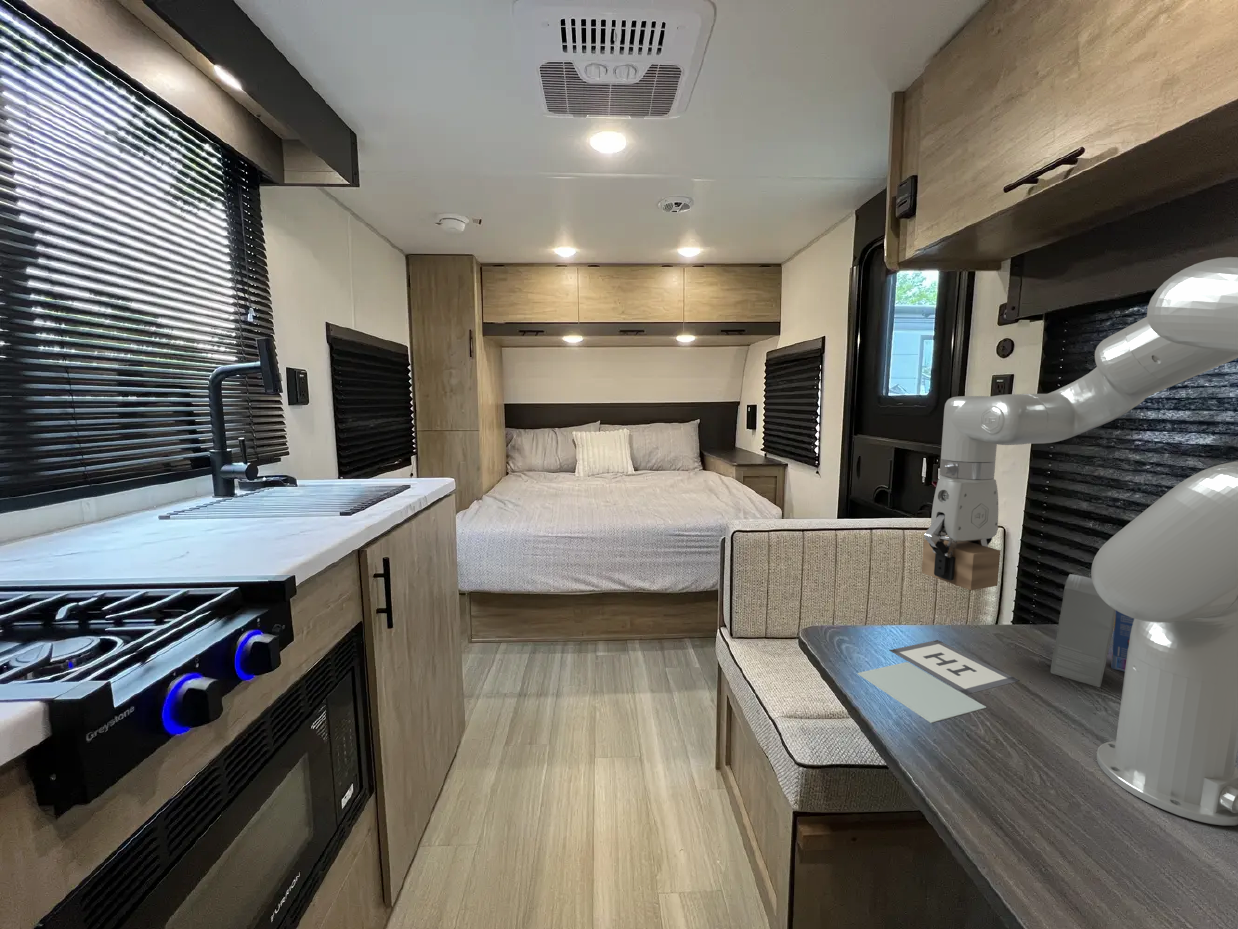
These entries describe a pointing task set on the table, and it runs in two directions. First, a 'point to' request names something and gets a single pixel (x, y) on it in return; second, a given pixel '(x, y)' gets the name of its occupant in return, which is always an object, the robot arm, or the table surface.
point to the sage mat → (921, 692)
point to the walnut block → (967, 565)
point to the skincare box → (1082, 633)
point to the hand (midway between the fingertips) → (958, 574)
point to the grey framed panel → (954, 666)
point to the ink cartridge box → (1121, 640)
